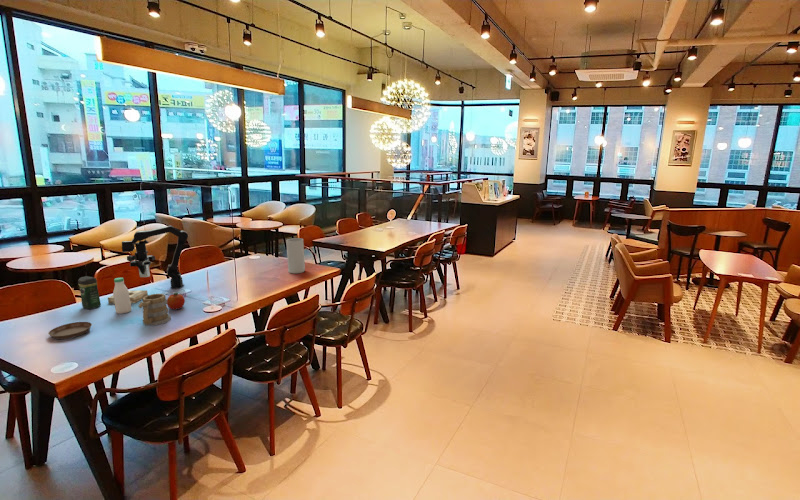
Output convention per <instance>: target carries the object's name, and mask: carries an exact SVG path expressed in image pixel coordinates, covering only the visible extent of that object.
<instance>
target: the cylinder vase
mask: <svg viewBox="0 0 800 500" xmlns="http://www.w3.org/2000/svg"><path fill="white" fill-rule="evenodd" d="M285 242H286V256H287V257H286V258H287V270H288V273H289V274H302V273H304V272H305V270H306V266H305V246H304V245H305V244H304V238H302V237H301V238H300V237H299V238H298V237H295V238H294V237H292V238H288V239H286V241H285Z"/></svg>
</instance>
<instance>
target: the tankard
mask: <svg viewBox="0 0 800 500" xmlns="http://www.w3.org/2000/svg"><path fill="white" fill-rule="evenodd" d="M167 299H168V298H166V295H165V293H153V294H148V296H145V297H143V298H142V299H141V300H142V301H140V303H139V304H138V308H140V309H143V310H142V318H143V319H142V323H143V324H144V325H145V326H158V325H162V324H166V323H167V322H169V321H170V320H171V319H172V317H171V315H170V314H169V307H168V305H167V304H168V303H167Z"/></svg>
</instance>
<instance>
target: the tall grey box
mask: <svg viewBox="0 0 800 500" xmlns="http://www.w3.org/2000/svg"><path fill="white" fill-rule="evenodd" d="M138 273H139V274H138V275H139V278H149V277H150V276H151V273H150V266H149V264H146V266H145V272H144V274H142V273H141V271H140V269H139V268H138Z"/></svg>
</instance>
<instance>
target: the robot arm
mask: <svg viewBox="0 0 800 500" xmlns="http://www.w3.org/2000/svg"><path fill="white" fill-rule="evenodd" d="M168 233H170V234H172V235H174V236H176V237H177V245H176V248H175V250H174V253H173V256H172V257H173V258H172V262H171V264H168V265H167V269H166V273H167V276H168V277H169V278H170V289H181V288H182V287H184V286H185V284H184V283H183V276H182V274H181V272H180V271H178V267H179V261H180V258H181V254H182V252H183V248H184V245H185V244H186V242H187V240H188V238H189V235H188V232H187V231H186V230H181V229H180V228H178V227H175V226H173V225H167V226H163V227H160V228H159V227H158V228H155V229H154V228H153V229H151V230H150V229H149V230H137V231H135V233H134V234H133V238H132V240H127V241H125V240H124V241H121V251H122V253H128V252H134V250H135V251H136V252H134V255H127V256H126V260H127V261H128V262H129V267H131V268H132V267H137V268H138V270H139V269H140V271H141V273H142V274H144V272H145V266H146V264H149V267H150V266H151V264H152V261H154V260H156V256H154V255H148V254H149V251H148V250H147V245H146V244H149V241H148V240H147V239H148V238H149V239H150V238H151V237H154V236H158V235H164V234H168ZM150 260H151V261H150Z"/></svg>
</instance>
